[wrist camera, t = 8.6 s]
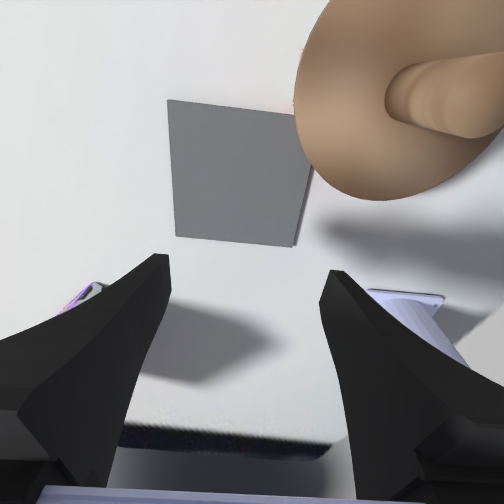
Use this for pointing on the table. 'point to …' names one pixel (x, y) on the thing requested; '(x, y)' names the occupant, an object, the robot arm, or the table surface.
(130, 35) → the table surface
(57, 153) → the table surface
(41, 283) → the table surface
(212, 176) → the mat
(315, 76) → the lid
